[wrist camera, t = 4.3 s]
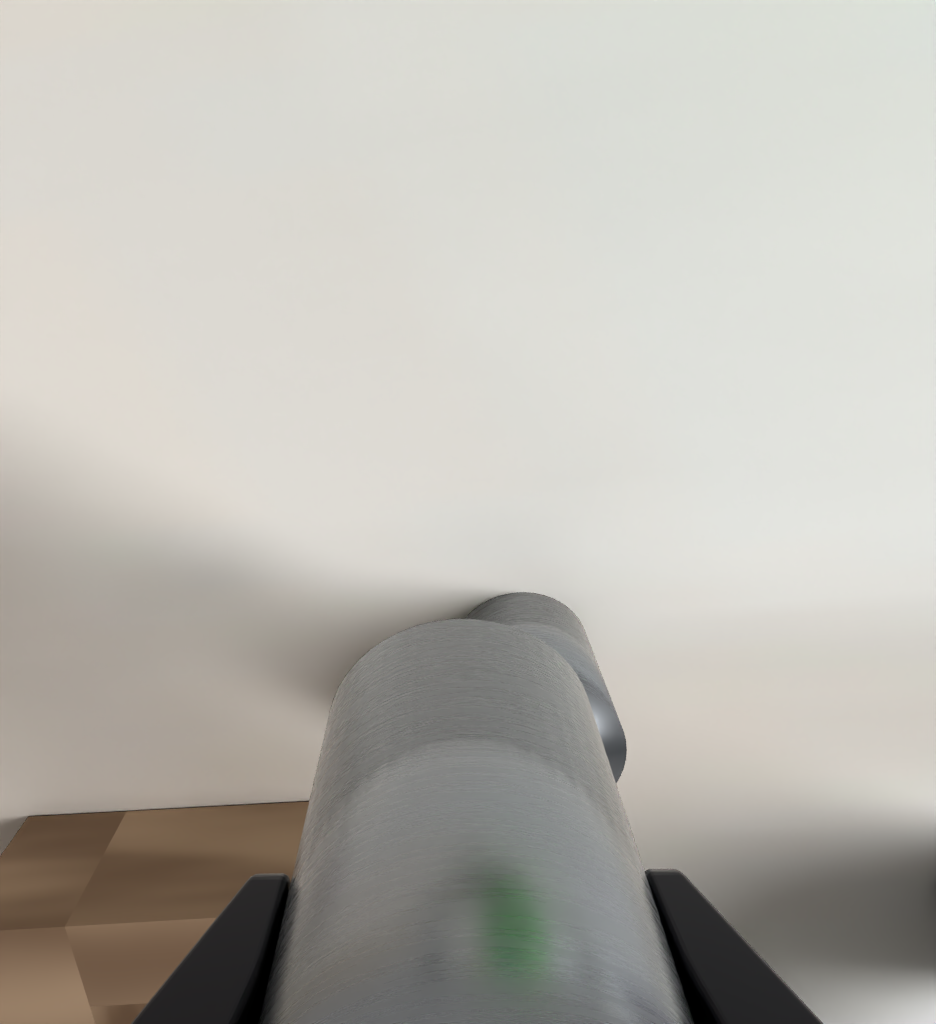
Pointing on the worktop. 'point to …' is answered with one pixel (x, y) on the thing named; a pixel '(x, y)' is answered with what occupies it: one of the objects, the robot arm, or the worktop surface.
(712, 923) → the robot arm
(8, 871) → the hole block
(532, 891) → the tall pin
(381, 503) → the worktop surface
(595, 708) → the short pin
